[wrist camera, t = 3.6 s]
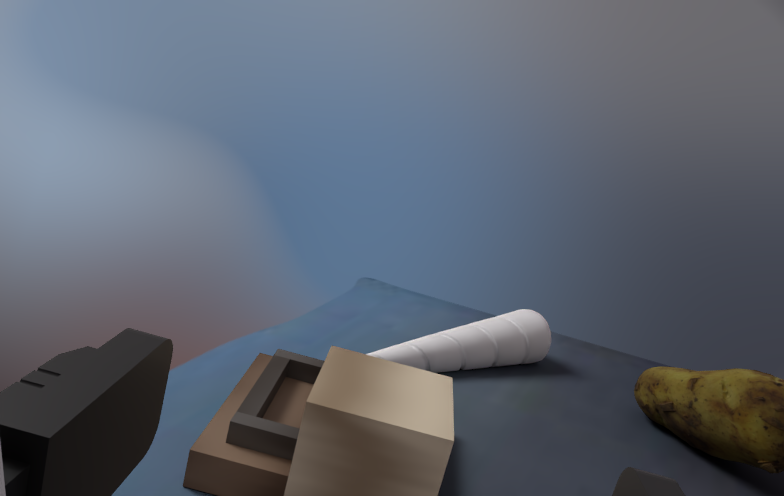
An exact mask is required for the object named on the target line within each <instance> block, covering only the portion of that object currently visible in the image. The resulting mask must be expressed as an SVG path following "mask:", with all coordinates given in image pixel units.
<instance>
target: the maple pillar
mask: <svg viewBox="0 0 784 496" xmlns="http://www.w3.org/2000/svg"><path fill="white" fill-rule="evenodd" d="M453 443H454V418H453V381H452V377H448V376H444V375H441V374H437V373H433V372H429V371H426V370H422V369H418V368H414V367H411V366H407V365H403V364H399V363H396V362H392V361H388V360H384V359H381V358H377V357H373V356H369V355H366V354H362V353H358V352H354V351H351V350H347V349H343V348H339V347H336V346H331V348H330V351H329V353H328V355H327V357H326V359H325V362H324V364H323V366H322V368H321V370H320V373H319V375H318V377H317V379H316V381H315V384H314V386H313V388H312V390H311V392H310V394H309V397H308V399H307V401H306V405H305V409H304V413H303V417H302V422H301V426H300V430H299V434H298V438H297V443H296V447H295V451H294V455H293V459H292V463H291V468H290V472H289V476H288V480H287V484H286V488H285V493H284V496H438V492H439V489H440V486H441V483H442V479H443V476H444V473H445V469H446V466H447V463H448V460H449V456H450V453H451V450H452V446H453Z"/></svg>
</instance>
